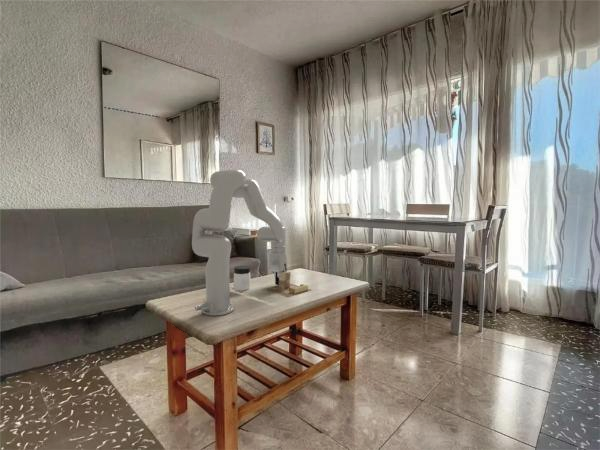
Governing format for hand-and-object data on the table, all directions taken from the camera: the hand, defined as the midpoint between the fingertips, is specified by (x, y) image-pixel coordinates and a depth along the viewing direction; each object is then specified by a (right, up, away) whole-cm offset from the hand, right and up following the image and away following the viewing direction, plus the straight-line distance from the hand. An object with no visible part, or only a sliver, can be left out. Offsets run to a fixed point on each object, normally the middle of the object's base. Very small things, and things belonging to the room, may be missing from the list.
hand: (278, 284), depth 163 cm
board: (+6, -3, -8) cm, 10 cm away
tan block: (+3, -1, -3) cm, 4 cm away
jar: (-18, -3, -4) cm, 19 cm away
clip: (+10, -1, -10) cm, 14 cm away
